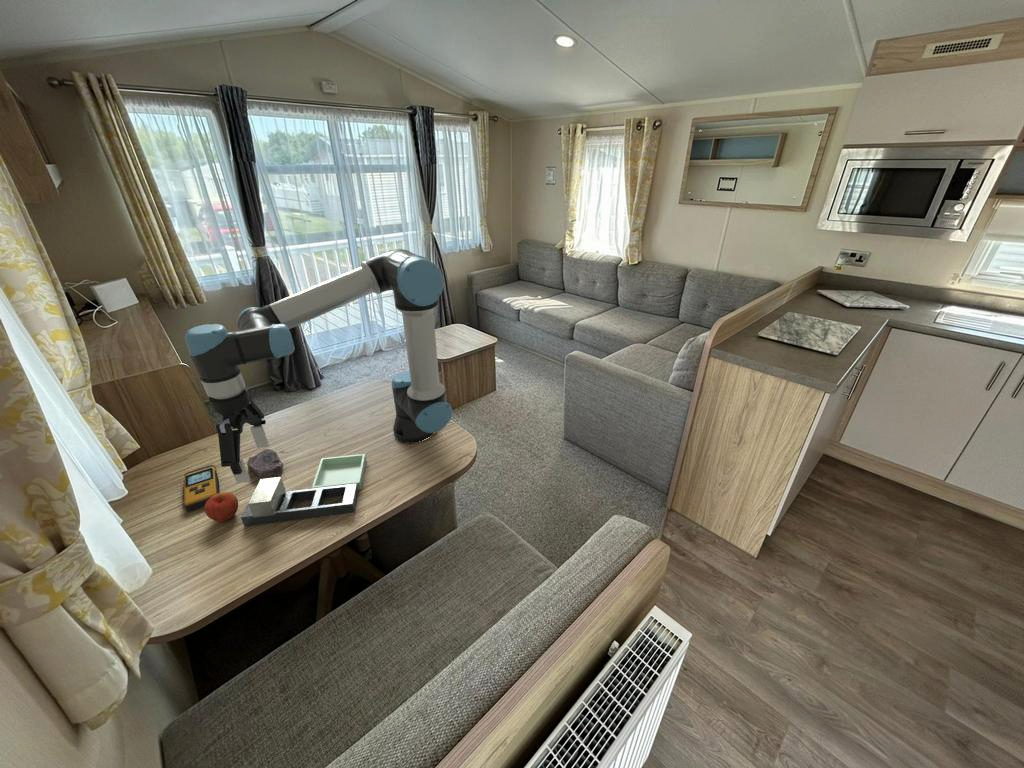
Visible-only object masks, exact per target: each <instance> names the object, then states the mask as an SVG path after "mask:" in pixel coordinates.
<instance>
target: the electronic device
mask: <svg viewBox="0 0 1024 768" xmlns="http://www.w3.org/2000/svg"><path fill="white" fill-rule="evenodd" d="M218 476H219V475H218V472H217V468H216V466H215V465H214V464H210V465H207V466H204V467H201V468H196V469H195V470H194V469H193V470H191V471H187V472H186V473H185V474H184V477H183V478H184V480H183V487H182V488H183V489H182V494H183V495H182V501H183V508H184V509H185V511H186V513H187V512H189V513H190V512H193V511H195V510H198V509H201V508H205V504H206V502H207V501H208V500H209V499H210V498H211V497H212V496H214V495H216V494H218V493H220V491H221V489H220V483H219V482H220V481H219V480H220V479H219V477H218Z"/></svg>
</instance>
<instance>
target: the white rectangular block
mask: <svg viewBox="0 0 1024 768" xmlns="http://www.w3.org/2000/svg"><path fill="white" fill-rule="evenodd" d="M285 492H286V487H285V485H284V481H283V479H282V476H278V477H276V476H274V477H267V478H260V479H259V481H258V483H257V485H256V488H255V489H254V491H253V493H252V495H251V496H252V497H251V496H250V498H251V499H250V498H249V500H250V501H249V500H248V502H249V503H248V502H247V504H248V505H249V507H250V510H251V512H252V514H253V517H262V516H270V515H275V514H276V512H277V511H279V510H280V508H281V505H282V503H283V500H284V493H285Z"/></svg>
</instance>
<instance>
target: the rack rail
mask: <svg viewBox="0 0 1024 768" xmlns="http://www.w3.org/2000/svg"><path fill="white" fill-rule="evenodd" d="M359 492H360V491H359V490H358V487H357V483H356V484H347V485H339V486H330V487H321V488H312V487H311V488H305V489H299V490H297V489H296V490H287V491H286V490H285V493H284V500H283V503H282V505H281V508H280V510H279V511H277V512H276V514H275V515H270V516H262V517H253V514H252V512H251V510H250V507H249V505H248V503H249V501H250V499H251V497H252V495H251V496H250V498H249V500H248V502H247V504H246V506H245V508H244V510H243V512H242V514H241V516H240V519H241V522H242V524H243V527H244V528H245V527H254V526H262V525H269V524H277V523H286V522H293V521H300V520H308V519H316V518H317V519H318V518H325V517H333V516H340V515H349V514H355V513H356V509H357V508H356V507H357V502H358V497H359ZM337 497H343V498H342V502H338V503H330V504H325V500H326V499H329V498H337ZM312 500H313V501H312ZM303 501H312V502H311V506H306V507H299V508H296V507H295V504H296V502H303ZM294 507H295V508H294Z"/></svg>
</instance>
